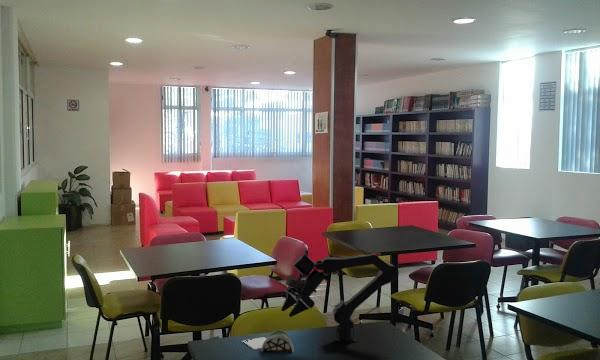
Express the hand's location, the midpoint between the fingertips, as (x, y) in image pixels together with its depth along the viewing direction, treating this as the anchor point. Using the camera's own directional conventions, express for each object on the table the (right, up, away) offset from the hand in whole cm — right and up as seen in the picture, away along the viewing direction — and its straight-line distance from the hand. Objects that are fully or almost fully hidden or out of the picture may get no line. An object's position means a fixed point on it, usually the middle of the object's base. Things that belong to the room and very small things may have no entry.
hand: (285, 313), depth 210 cm
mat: (-10, -13, +2) cm, 17 cm away
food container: (-2, -9, +1) cm, 9 cm away
